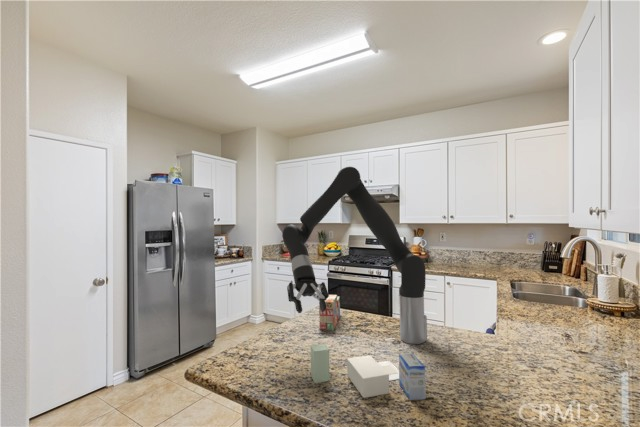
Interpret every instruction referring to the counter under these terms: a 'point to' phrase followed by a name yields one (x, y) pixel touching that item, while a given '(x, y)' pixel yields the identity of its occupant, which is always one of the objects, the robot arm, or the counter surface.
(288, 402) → the counter surface
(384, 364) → the page
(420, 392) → the medicine box
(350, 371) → the base brick
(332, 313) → the printed cardboard box
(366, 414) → the counter surface
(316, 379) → the sage brick
